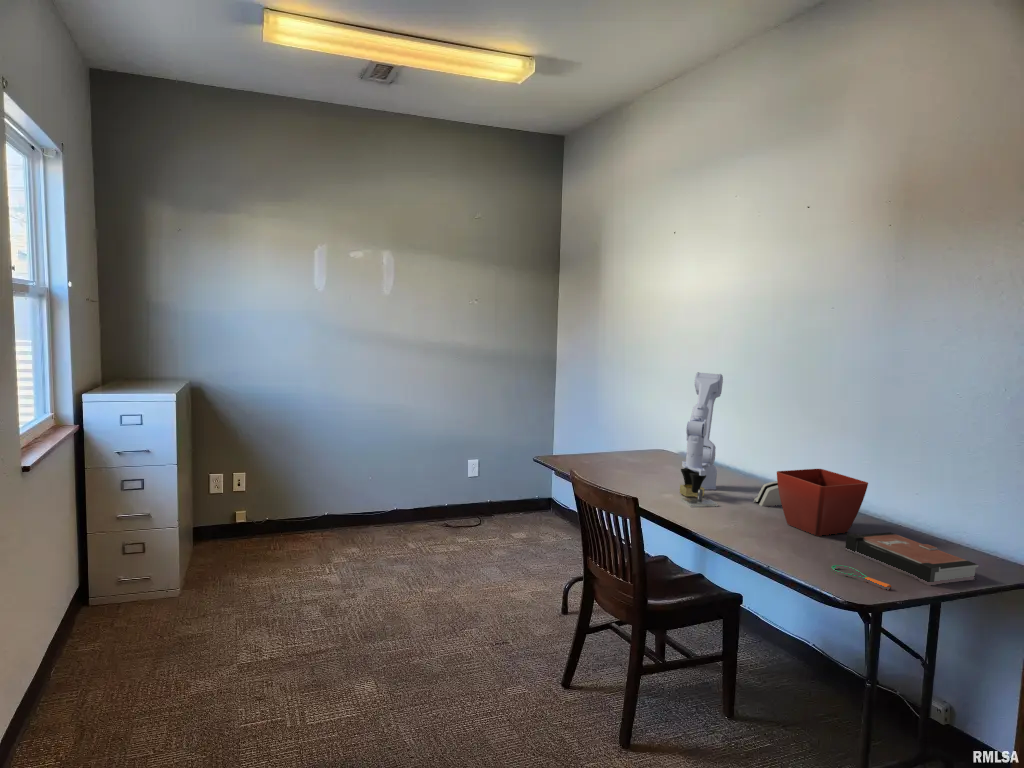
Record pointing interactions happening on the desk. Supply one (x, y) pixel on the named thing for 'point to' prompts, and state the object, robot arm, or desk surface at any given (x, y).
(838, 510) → the plant pot
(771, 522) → the desk surface
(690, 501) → the keeper plate
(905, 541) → the book
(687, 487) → the link
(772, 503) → the grey curved piece
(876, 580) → the green orange wire loop
